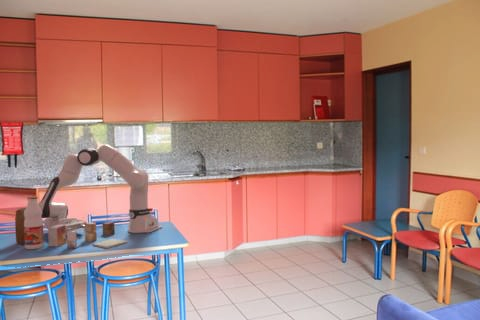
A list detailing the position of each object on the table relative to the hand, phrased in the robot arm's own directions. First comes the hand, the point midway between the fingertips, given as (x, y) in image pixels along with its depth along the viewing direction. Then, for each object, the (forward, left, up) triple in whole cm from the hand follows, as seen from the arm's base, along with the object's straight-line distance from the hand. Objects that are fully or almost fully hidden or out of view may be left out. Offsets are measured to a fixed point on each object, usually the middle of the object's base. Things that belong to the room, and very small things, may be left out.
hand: (77, 228), depth 249 cm
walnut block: (-16, +8, -6) cm, 19 cm away
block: (+23, -16, -6) cm, 28 cm away
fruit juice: (+26, -2, -6) cm, 27 cm away
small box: (+16, +4, -6) cm, 18 cm away
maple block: (0, +12, -6) cm, 14 cm away
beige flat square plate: (0, +29, -6) cm, 30 cm away
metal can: (+16, +17, -6) cm, 24 cm away
